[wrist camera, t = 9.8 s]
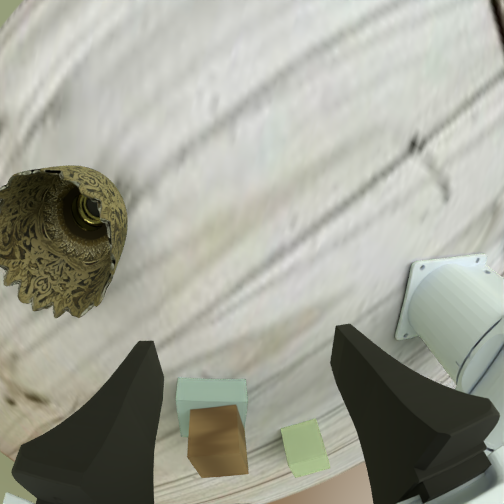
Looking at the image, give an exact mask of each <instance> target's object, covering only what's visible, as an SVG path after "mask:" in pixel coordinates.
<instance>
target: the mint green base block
mask: <svg viewBox="0 0 504 504" xmlns="http://www.w3.org/2000/svg"><path fill="white" fill-rule="evenodd" d="M235 404H236V405H237V408H238V411H239V414H240V417H241V420H242V423H243V426H244V429H245V421H246V413H247V405H248V397H247V388H246V379H198V378H178V383H177V392H176V406H177V413H178V420H179V427H180V433H181V437H188V436H189V420H190V409H201V408H210V407H219V406H227V405H235Z"/></svg>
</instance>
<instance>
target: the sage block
mask: <svg viewBox="0 0 504 504" xmlns="http://www.w3.org/2000/svg"><path fill="white" fill-rule="evenodd" d="M281 433H282V438H283V443H284V448H285V452H286V457H287V462H288V466H289V468H290V469H291V471H292V473H293V475H294V476H295V478H297V477H301V476H304V475H308V474H312V473H315V472H319V471H322V470H325V469H329V468H330V464H329V460H328V457H327V453H326V450H325V447H324V443H323V440H322V437H321V434H320V430H319V427H318V424H317V421H316V419H312V420H309V421H306V422H302V423H299V424H295V425H292V426H288V427H284V428H281Z"/></svg>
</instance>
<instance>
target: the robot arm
mask: <svg viewBox="0 0 504 504" xmlns="http://www.w3.org/2000/svg"><path fill="white" fill-rule="evenodd" d="M486 261H487V255H486V254H484V253H482V254H474V255H465V256H457V257H448V258H440V259H431V260H422V261H415V262H414V263H413V264H412V266H411V269H410V275H409V279H408V284H407V289H406V294H405V298H404V302H403V307H402V311H401V315H400V319H399V323H398V327H397V330H396V334H395V338H396V339H397V340H398V341H399V340H404V339H409V338H413V337H417V336H420V337H421V339H422V340H423V341H424V343H425V344H426V345H427V346H428V348H429V349H430V350H431V352H432V353H433V354H434V356H435V357H436V358H437V360H438V361H439V362H440V364H441V365H442V366H443V368H444V369H445V370H446V372H447V373H448V374H449V376H450V377H451V378H452V380H453V381H454V383H455V384H456V385H457V386H456V388H455V390H454V389H451V388H449V387H446V386H444V385H441V384H439V383H437V382H434V381H432V380H430V379H428V378H426V377H424V376H422V375H420V374H418V373H417V372H415V371H413V370H411V369H410V368H408V367H406V366H405V365H403V364H402V363H400V362H399V361H397V360H396V359H394V358H393V357H391V356H390V355H389V354H387V353H386V352H385V351H383V350H382V349H381V348H379V347H378V346H377V345H376V344H374V343H373V342H372V341H371V340H369V339H368V338H367V337H366V336H364V335H363V334H362V333H361V332H360V331H358V330H357V329H356V328H355V327H353V326H352V325H351V324H345V325H338V326H336V328H335V335H334V342H333V348H332V355H331V361H330V364H331V367H332V371H333V374H334V378H335V381H336V384H337V386H338V389H339V391H340V393H341V396H342V398H343V400H344V403H345V405H346V407H347V409H348V412H349V414H350V416H351V418H352V421H353V423H354V425H355V428H356V431H357V434H358V437H359V440H360V444H361V447H362V451H363V455H364V459H365V463H366V467H367V471H368V476H369V480H370V485H371V491H372V497H373V503H374V504H504V278H503V277H501V276H500V275H499V274H497V273H496V272H495V271H493V270H492V269H491V268H489V267H488V266H487V265H486ZM422 265H423V266H422ZM421 266H422V267H421ZM420 267H421V268H420ZM404 334H405V335H404ZM163 387H164V375H163V372H162V369H161V365H160V362H159V359H158V355H157V352H156V348H155V345H154V341H139V342H138V343H137V344H136V345H135V346H134V348H133V349H132V350H131V352H130V353H129V354H128V356H127V357H126V358H125V360H124V361H123V362H122V363H121V365H120V366H119V367H118V368H117V370H116V371H115V372H114V373H113V375H112V376H111V377H110V378H109V380H108V381H107V382H106V383H105V384H104V385H103V386H102V387H101V389H100V390H99V391H98V392H97V393H96V394H95V395H94V396H93V397H92V398H91V399H90V400H89V401H88V402H87V403H86V404H85V405H83V406H82V407H81V408H80V409H79V410H78V411H76V412H75V413H74V414H72V415H71V416H70V417H69V418H67V419H66V420H65V421H63V422H62V423H60V424H59V425H57V426H56V427H54V428H53V429H51V430H50V431H48V432H46V433H45V434H43V435H41V436H39V437H37V438H35V439H33V440H31V441H29V442H27V443H25V444H23V445H21V447H20V449H19V452H18V455H17V457H16V460H15V463H14V466H13V468H12V475H13V477H14V478H15V480H16V481H17V482H18V483H19V484H20V485H22V486H23V487H24V488H25V489H26V490H27V491H29V492H30V493H31V494H32V495H34V496H35V497H36V498H37V501H36V504H154V487H153V468H154V448H155V440H156V435H157V429H158V423H159V418H160V412H161V406H162V400H163ZM3 504H34V503H32V502H30V501H28V500H26V499H23V498H21V497H18V496H15V495H13V494H11V493H6V494H5V498H4V501H3Z"/></svg>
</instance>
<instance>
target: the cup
mask: <svg viewBox="0 0 504 504" xmlns="http://www.w3.org/2000/svg"><path fill="white" fill-rule="evenodd" d="M88 198H89V199H90V200H91V201H92V202H96V203H97V204H98V205H97V207H98V211H99V213H100V216H94V215H92V214H91V213H90V212H89V210H88V208H87V199H88ZM1 199H2V200H1ZM0 201H1V202H0V267H1V268H3V269H4V270H5V273H6V274H5V276H4V280H3V281H4V285H5V286H6V287H7V286H13V285H14V283H15V284H19V283H18V282H20V285H19V287H18V298H19V300H20V301H21V302H22V303H26V304H29V303H31V302H32V304H31V305H32V309H33V311H39V310H42V309H44V308H45V309H48V308H50V307H51V306H53V313H54V317H55V318H58V317H60V316H61V315H62V314H63V313H64V312H66V311H67V312H69V313H70V314H71V315H72V316H75V317H77V318H80V317H82V316H83V315H84V314H86V313H87V312H88V311H89V310H90V309H92V307H93V306H96V307H97V306H98V305H99V304H100V303H101V301H102V300H103V298H104V295H105V292H106V290H107V287H108V286H109V284H110V283H111V281H112V278H113V275H114V273H115V270H116V267H117V264H118V262H119V259H120V256H121V253H122V250H123V247H124V244H125V240H126V235H127V212H126V207H125V204H124V201H123V199H122V196H121V194H120V193H119V191H118V189H117V188H116V187H115V185H114V184H113V183H112V182H111V181H110V180H109V179H108V178H107V177H106V176H104V175H103V174H101V173H100V172H98V171H96V170H93V169H90V168H87V167H83V166H58V167H49V168H42V169H35V170H29V171H24V172H20V173H17V174H14V175H13V176H12V177H11V178H10V179H9V181H8V183H7V185H4V186H2V187H1V188H0Z"/></svg>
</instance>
